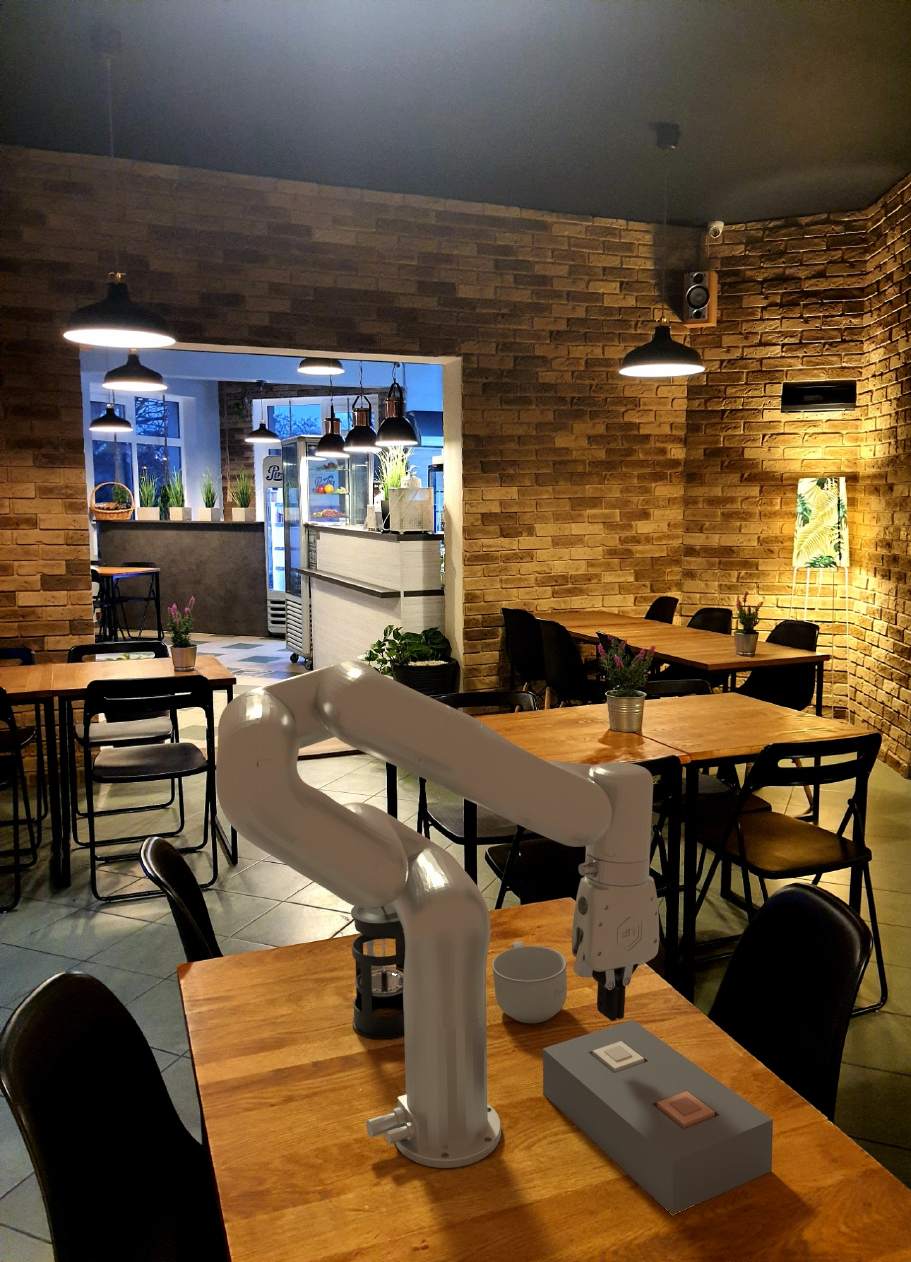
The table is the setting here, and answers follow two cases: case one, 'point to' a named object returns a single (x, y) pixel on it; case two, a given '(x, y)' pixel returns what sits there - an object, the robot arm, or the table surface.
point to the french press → (378, 974)
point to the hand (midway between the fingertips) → (610, 1014)
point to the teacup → (530, 982)
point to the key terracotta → (685, 1110)
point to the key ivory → (618, 1057)
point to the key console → (658, 1117)
